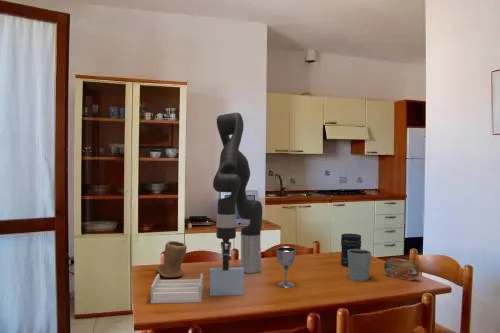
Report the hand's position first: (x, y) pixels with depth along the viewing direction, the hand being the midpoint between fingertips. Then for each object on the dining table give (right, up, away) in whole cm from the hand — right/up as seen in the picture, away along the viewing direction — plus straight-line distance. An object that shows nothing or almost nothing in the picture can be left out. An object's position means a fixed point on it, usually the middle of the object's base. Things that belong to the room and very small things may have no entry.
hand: (225, 267), depth 151 cm
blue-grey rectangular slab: (0, -10, 0) cm, 10 cm away
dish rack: (-18, -10, -1) cm, 21 cm away
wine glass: (+24, -11, +12) cm, 29 cm away
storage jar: (+60, -11, +44) cm, 75 cm away
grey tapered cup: (+58, -11, +22) cm, 63 cm away
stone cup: (-26, -10, +26) cm, 38 cm away
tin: (+77, -11, +23) cm, 81 cm away
